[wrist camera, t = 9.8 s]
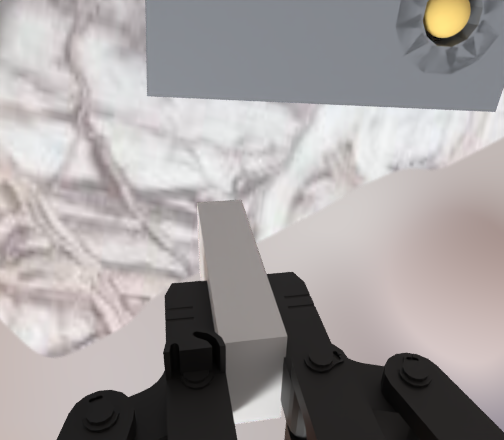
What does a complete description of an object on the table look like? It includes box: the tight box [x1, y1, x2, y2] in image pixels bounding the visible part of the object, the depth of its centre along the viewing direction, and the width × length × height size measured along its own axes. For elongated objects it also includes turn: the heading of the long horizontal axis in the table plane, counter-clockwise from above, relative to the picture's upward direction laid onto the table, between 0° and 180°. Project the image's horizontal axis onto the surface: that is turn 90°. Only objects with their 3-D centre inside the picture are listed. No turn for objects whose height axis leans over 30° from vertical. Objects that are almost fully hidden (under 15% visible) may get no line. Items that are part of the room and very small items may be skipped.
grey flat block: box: [145, 0, 504, 112], centre depth 34 cm, size 28×14×2 cm, turn 85°
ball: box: [423, 0, 471, 38], centre depth 35 cm, size 3×3×3 cm
